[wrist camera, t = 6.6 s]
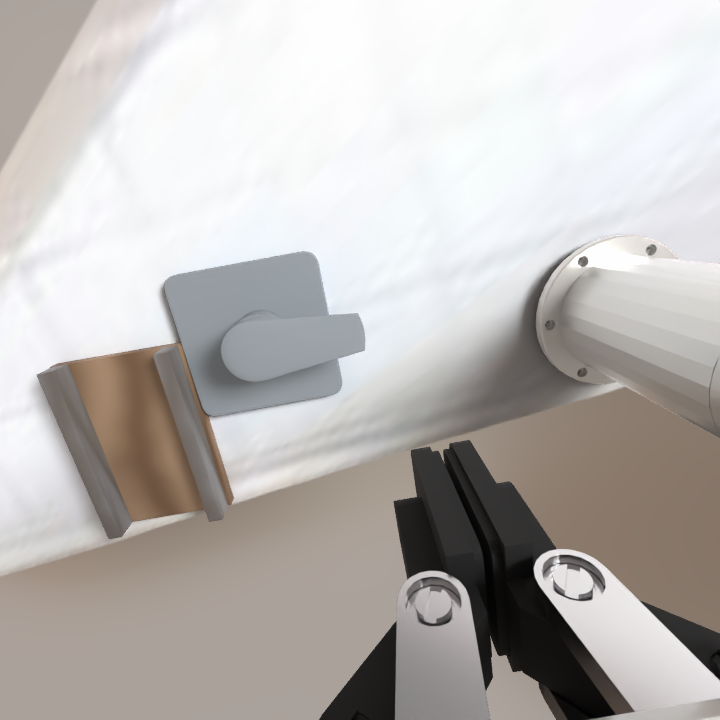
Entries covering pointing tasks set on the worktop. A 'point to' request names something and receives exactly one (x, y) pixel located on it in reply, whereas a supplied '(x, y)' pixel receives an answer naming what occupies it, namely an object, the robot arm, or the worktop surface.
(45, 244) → the worktop surface
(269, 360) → the shower valve
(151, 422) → the stand
